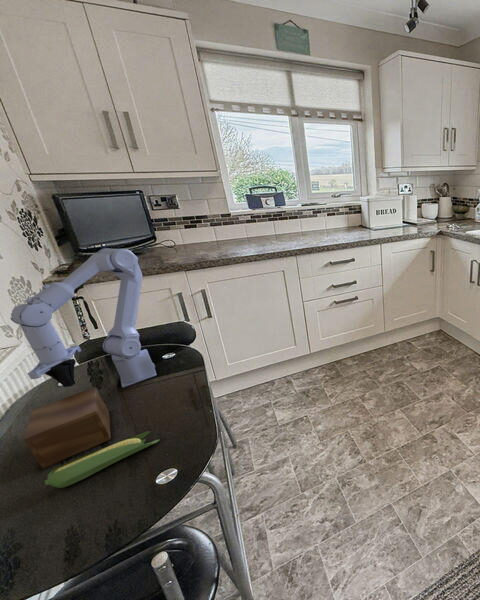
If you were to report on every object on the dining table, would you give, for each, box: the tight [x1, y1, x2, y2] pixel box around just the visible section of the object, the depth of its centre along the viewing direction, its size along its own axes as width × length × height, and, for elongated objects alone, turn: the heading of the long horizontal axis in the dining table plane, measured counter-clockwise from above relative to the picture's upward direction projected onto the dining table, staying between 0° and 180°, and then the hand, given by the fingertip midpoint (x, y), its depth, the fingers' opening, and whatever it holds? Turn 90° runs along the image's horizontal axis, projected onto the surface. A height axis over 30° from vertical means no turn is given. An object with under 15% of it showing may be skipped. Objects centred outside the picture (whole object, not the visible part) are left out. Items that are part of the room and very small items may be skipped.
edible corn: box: [44, 430, 161, 489], centre depth 76 cm, size 5×20×5 cm, turn 130°
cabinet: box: [23, 386, 112, 469], centre depth 84 cm, size 15×13×9 cm
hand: (69, 385), depth 95 cm, fingers closed
